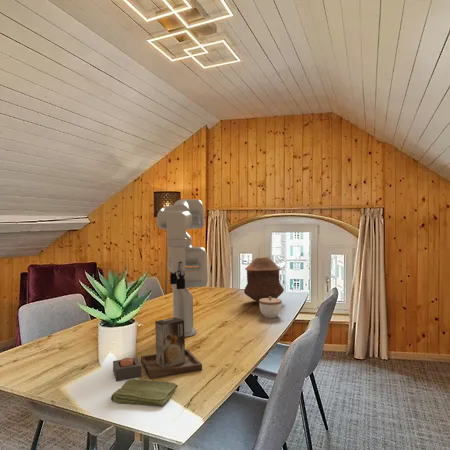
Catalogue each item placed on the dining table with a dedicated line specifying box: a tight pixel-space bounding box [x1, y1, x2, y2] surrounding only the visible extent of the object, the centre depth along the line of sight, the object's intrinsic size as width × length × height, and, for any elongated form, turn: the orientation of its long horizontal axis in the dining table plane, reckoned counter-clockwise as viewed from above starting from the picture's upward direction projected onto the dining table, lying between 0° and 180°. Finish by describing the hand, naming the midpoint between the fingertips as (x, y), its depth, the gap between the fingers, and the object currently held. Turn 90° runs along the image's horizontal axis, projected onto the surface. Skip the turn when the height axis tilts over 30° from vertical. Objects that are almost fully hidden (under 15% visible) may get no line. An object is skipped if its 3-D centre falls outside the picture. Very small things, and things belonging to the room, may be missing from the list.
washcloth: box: [110, 378, 178, 407], centre depth 116 cm, size 13×18×3 cm
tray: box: [140, 349, 203, 380], centre depth 139 cm, size 17×19×2 cm
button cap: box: [120, 357, 134, 367], centre depth 132 cm, size 4×4×3 cm
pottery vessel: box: [243, 256, 285, 305], centre depth 242 cm, size 26×26×30 cm
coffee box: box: [154, 317, 186, 368], centre depth 139 cm, size 9×6×16 cm
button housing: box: [112, 356, 143, 382], centre depth 132 cm, size 9×9×4 cm
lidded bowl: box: [258, 296, 282, 319], centre depth 210 cm, size 13×13×11 cm
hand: (177, 286), depth 147 cm, fingers open, 9 cm apart
